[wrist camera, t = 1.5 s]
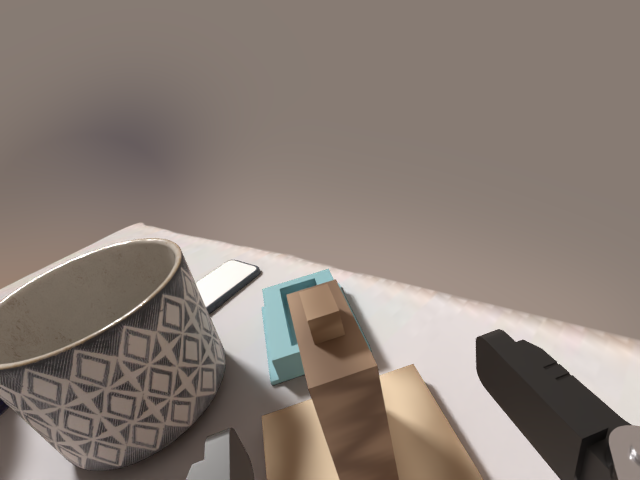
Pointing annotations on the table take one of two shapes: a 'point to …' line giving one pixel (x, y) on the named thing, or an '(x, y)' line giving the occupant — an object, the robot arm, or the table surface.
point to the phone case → (225, 282)
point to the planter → (110, 353)
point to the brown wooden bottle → (343, 383)
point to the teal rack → (287, 326)
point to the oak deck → (405, 429)
